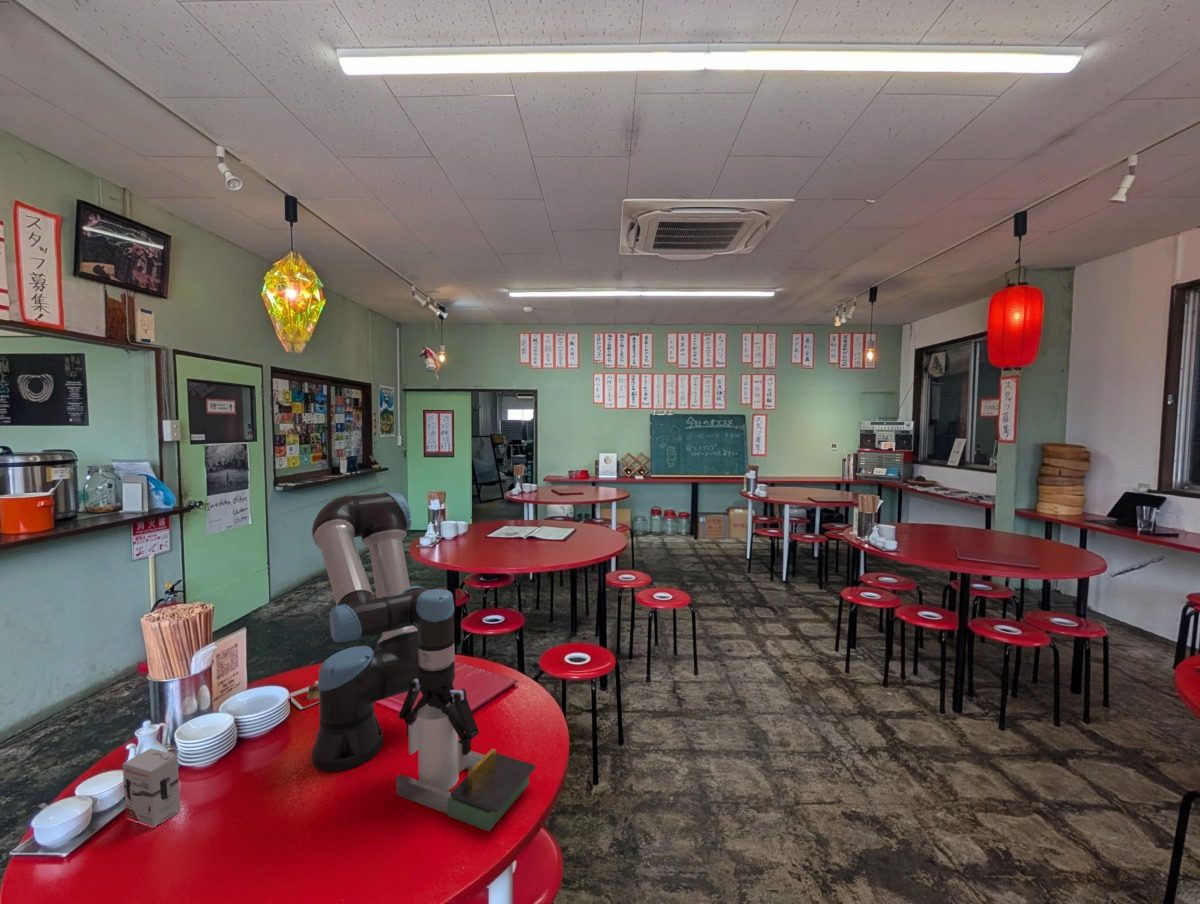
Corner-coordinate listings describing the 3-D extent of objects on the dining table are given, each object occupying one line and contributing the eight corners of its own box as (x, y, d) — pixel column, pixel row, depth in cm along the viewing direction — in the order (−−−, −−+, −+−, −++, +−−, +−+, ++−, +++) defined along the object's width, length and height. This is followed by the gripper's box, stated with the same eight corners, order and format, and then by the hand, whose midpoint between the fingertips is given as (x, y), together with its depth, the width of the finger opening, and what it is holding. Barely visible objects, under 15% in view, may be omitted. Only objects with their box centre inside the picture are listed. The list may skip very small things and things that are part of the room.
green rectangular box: (447, 815, 98) (447, 798, 98) (490, 771, 111) (490, 756, 111) (489, 831, 94) (488, 813, 94) (529, 784, 107) (528, 768, 107)
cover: (450, 796, 98) (450, 777, 98) (492, 755, 110) (492, 738, 110) (496, 813, 93) (496, 793, 93) (535, 768, 106) (534, 751, 106)
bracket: (396, 794, 104) (396, 777, 104) (441, 756, 116) (440, 741, 116) (448, 814, 98) (448, 796, 98) (490, 772, 111) (489, 756, 110)
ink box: (123, 820, 98) (121, 762, 97) (153, 802, 103) (150, 747, 102) (153, 830, 95) (150, 770, 95) (181, 811, 100) (179, 754, 100)
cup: (464, 769, 112) (462, 700, 111) (449, 796, 103) (448, 721, 103) (429, 767, 112) (427, 698, 112) (412, 793, 104) (410, 719, 104)
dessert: (300, 713, 136) (299, 696, 136) (284, 698, 144) (284, 682, 144) (345, 695, 146) (344, 679, 145) (328, 682, 153) (328, 667, 153)
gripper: (380, 660, 109) (382, 754, 110) (471, 683, 99) (473, 786, 99) (406, 646, 116) (408, 735, 116) (494, 666, 105) (495, 763, 106)
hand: (438, 759), depth 108 cm, fingers open, 13 cm apart
